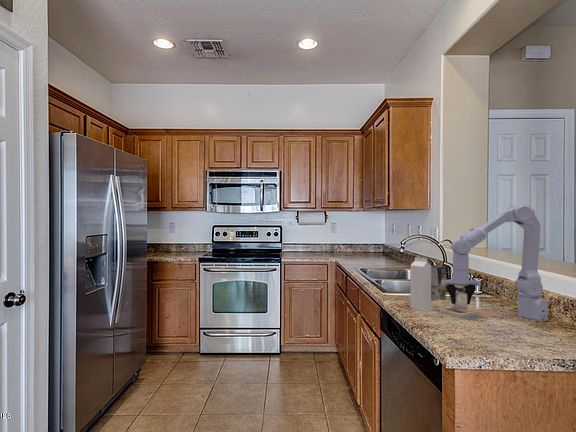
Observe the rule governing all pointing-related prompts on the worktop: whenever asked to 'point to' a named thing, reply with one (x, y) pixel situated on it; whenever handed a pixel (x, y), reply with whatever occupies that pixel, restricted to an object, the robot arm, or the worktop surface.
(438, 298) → the coffee box
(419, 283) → the milk
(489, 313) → the jug holder
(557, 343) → the worktop surface
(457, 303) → the jug
